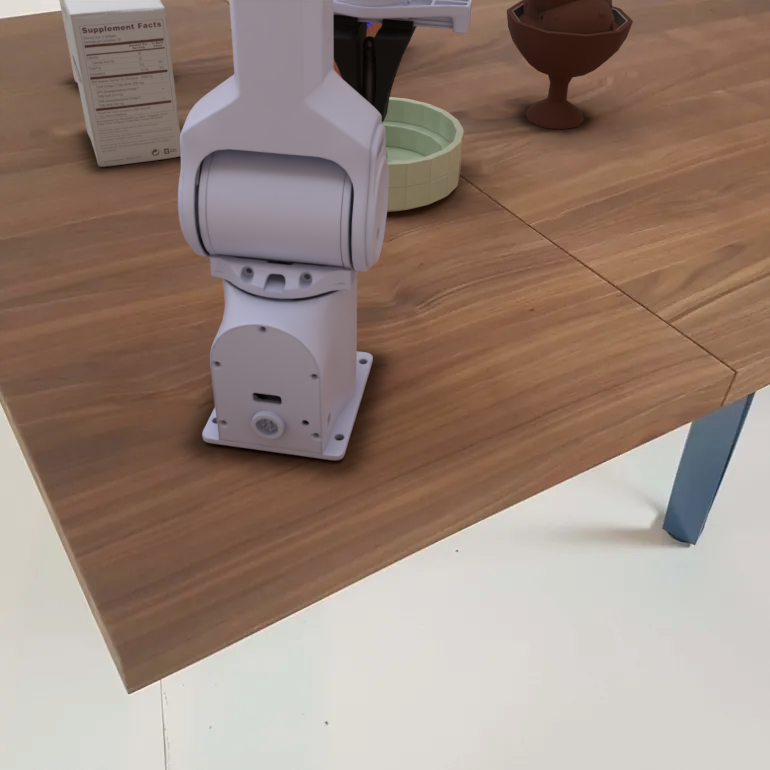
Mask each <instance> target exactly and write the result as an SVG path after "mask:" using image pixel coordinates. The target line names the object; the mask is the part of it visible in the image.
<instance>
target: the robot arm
mask: <svg viewBox="0 0 770 770" xmlns="http://www.w3.org/2000/svg"><path fill="white" fill-rule="evenodd" d="M228 1H229V15H230V33H231V45H232V59H233V61H232V62H233V71H234V72H233V74H232V75H231V76H229V77H228V78H227V79H225V80H224V81H222V82H221V83H220V84H219V85H216V87H214V88H213V89H212V90H210V91H209V92H207V93H206V94H205V95H203V96H202V97H201V98H200V99H199V100H198V101H197V102H196V103H195V104H194V105H193V107H192V108H191V109H190V111H189V112H188V114H187V117H186V118H185V122H184V124H183V126H182V129H181V130H180V133H181V134H180V151H181V156H180V172H179V178H178V186H177V211H178V221H179V225H180V231H181V233H182V235H183V238H184V240H185V241H186V243H187V244H188V245H189V247H190V248H191V250H192V252H193V253H194V254H195V255H197V256H199V257H203V258H208V260H209V269H210V276H211V277H213V278H219V279H222V287H223V288H222V289H223V299H224V310H223V316H222V320H221V323H220V325H219V328H218V331H217V333H216V334H215V337H214V339H213V341H212V344H211V346H210V347H211V348H210V353H209V367H210V377H211V385H212V392H213V393H212V394H213V401H214V407H213V410H212V412H211V414H210V416H209V417H208V420H207V422H206V424H205V426H204V428H203V430H202V431H201V432H202V433H201V436H202V440H203V441H204V442H205V443H208V444H212V445H213V444H214V445H219V446H227V447H234V448H241V449H242V448H243V449H249V450H255V451H264V452H271V453H278V454H284V455H285V454H286V455H292V456H299V457H306V458H313V459H320V460H328V461H340V460H342V459H343V458H344V457H345V455H346V451H347V448H348V445H349V442H350V439H351V434H352V432H353V428H354V425H355V422H356V420H357V419H356V418H357V415H358V411H359V409H360V406H361V402H362V399H363V396H364V392H365V388H366V386H367V382H368V379H369V375H370V372H371V369H372V366H373V363H374V359H373V358H374V357H373V355H372V354H371V353H370V352H366V351H358V350H357V349H358V346H357V345H358V344H357V343H358V273H367V272H368V271H370V269H371V267H373V266H374V265H376V263H378V261H379V260H380V257H381V254H382V249H383V244H384V238H385V233H386V226H387V216H388V212H387V206H388V189H389V172H388V162H387V159H386V150H385V137H386V129H385V126H384V125H383V124H382V122H384V119H385V117H386V115H387V111H388V103H389V98H390V97H391V93H392V90H393V89H392V88H393V85H394V82H395V78H396V76H397V72H398V70H399V67H400V64H401V61H402V59H403V57H404V55H405V52H406V50H407V47H408V46H409V44H410V42H411V40H412V37H413V36H414V34H415V31H416V29H417V27H419V28H430V29H431V28H433V29H444V30H452V32H453V33H455V34H468V32H469V29H470V26H471V19H472V17H471V16H472V6H473V0H228ZM367 22H371V23H382V26H381V28H380V29H379V30H378V32H377V33H376V35H375V40H374V43H375V56H376V93H375V105H374V106H373V105H371V104H370V103H369V102H368V101H367V100H366V99H365V98H363V97H362V93H363V41H364V39H365V38H366V34H367ZM334 61H335V63H336V65H337V67H338V69H339V72H340V74H341V77H342V78H341V77H340V76H339V75H338V74H337V73H336V71H335V70H334Z"/></svg>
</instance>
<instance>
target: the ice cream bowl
mask: <svg viewBox="0 0 770 770" xmlns="http://www.w3.org/2000/svg"><path fill="white" fill-rule="evenodd" d="M506 19H507V28H508V32H509V34H510V37H511V39H512V42H513V44H514V45H515V47H516V48H517V50H518V52H519V53H520V54H521V56H522V57H523V58H524V60H525V61H526V62H527V63H528V64H529V66H531V67H532V68H533V69H535V70H536V71H537V72H540V73H541V74H544V75H547V76H548V80H549V86H548V94H547V97H546V98H544V99H541V100H538V101H536V102H534V103H532V104H531V105H530V106H529V107H528V108H527V109H526V111H525V113H524V115H525V117H526V119H527V121H528V122H529V123H532V124H534V125H536V126H538V127H541V128H544V129H545V128H547V129H553V130H567V129H572V128H578V127H579V126H580V125H581V124H582V123H583V122H584V121H585V120H584V114H583V113H582V111H581V110H580V107H577V106H576V105H575V104H573V103H572V102H571V101H569V100H567V99H568V93H569V92H568V91H569V84H570V83H571V81H572V79H573V78H577V77H583V76H586V75H588V74H590V73H592V72H594V71H596V70H597V69H598V68H600V67H601V66H602V65H604V64H605V62H607V61H608V60H609V59H611V58H612V57H613V56H614V55H615V54H616V53H618V51H619V50H620V48H621V47H622V45H623V44H624V42H625V41H626V40H627V38H628V35H629V32H630V30H631V27H632V26H633V22H634V20H633V19H632V18H631V17H630V16H629V15H628V14H627V13H626V12H625V11H624V10H623V9H621V8H620V7H616V6H613V0H519V1H518V2H517V3H514V5H512V6H511V7H509V8H507V9H506Z"/></svg>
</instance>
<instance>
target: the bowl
mask: <svg viewBox="0 0 770 770" xmlns="http://www.w3.org/2000/svg"><path fill="white" fill-rule="evenodd" d="M382 124H383V125H384V126H385V129H386V137H385V148H386V149H387V151H388V159H387V162H388V172H389V189H388V206H387V213H391V212H403V211H409V210H414V209H417V208H421V207H425V206H428V205H431V204H433V203H435V202H438V201H440V200H442V199H445V198H446V197H448V196H449V195H450V194H451V193H452V192H453V191H454V190H455V189H456V188H457V187H458V185H459V182H460V176H461V170H462V158H463V148H464V147H463V146H464V134H465V130H464V128H463V126H462V124H461V122H460V120H459V119H458V118H456V117H455V116H454V115H453V114H451V113H450V112H448V111H447V110H446V109H443V108H441V107H438V106H436V105H434V104H431V103H428V102H425V101H424V102H423V101H419V100H416V99H411V98H406V97H397V96H396V97H395V96H390V98H389V103H388V111H387V115H386V117H385V119H384V122H382Z"/></svg>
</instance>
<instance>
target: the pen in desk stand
mask: <svg viewBox="0 0 770 770" xmlns="http://www.w3.org/2000/svg"><path fill="white" fill-rule="evenodd" d="M374 40H375V37H374V36H367V37H366V38H365V39H364V41H363V93H362V97H363V98H365V99H366V100H367V101H368V102H369V103H370V104H371V105H373V106H374V105H375V93H376V56H375V43H374ZM385 150H386V159H388V151H387V149H386V148H385Z"/></svg>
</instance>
